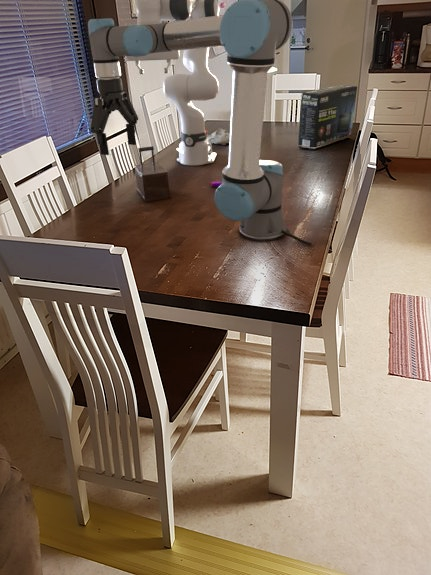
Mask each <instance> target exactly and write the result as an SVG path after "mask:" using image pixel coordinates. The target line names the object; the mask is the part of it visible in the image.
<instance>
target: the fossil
mask: <svg viewBox="0 0 431 575" xmlns="http://www.w3.org/2000/svg"><path fill="white" fill-rule="evenodd" d="M207 140H208V141H209V142H210V143H211V144H213V143H214V145H217V144H218V145H219V144H220V145H222V146H226V145H227V144H229V142H230V130H228V131H227V130H226V129H225V128H222V127H217V128H216V130H215V131H214V132H212V133H211V134H207ZM225 143H227V144H225Z"/></svg>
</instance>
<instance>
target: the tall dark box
mask: <svg viewBox="0 0 431 575" xmlns="http://www.w3.org/2000/svg"><path fill="white" fill-rule="evenodd" d="M154 149H155V148H154V145H152V146H143V147H138V148H137V151H138V153H139V154H138V155H139V162H140V163H139V164H136V165H133V167H134V170H135V169H136V170H137V171H138V173H139V174H140V175H141V176H142V178H143V177H150V176H157V175H164V174H168V175H169V173H168V170H166V169H165V168H164V167H163V165H161V163H160V162H158V161H157V162H156V161H155V153H154ZM142 152H151V160H152V162H149V163H143V156H142Z"/></svg>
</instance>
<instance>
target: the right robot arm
mask: <svg viewBox="0 0 431 575" xmlns="http://www.w3.org/2000/svg"><path fill="white" fill-rule="evenodd" d="M293 21H294V20H293V17H292V13H291V11H290V9H289V7H288V6H287V4H285V3H284V2H283V1H282V0H237V1H234V2H233V3H232V4H231V5H230V6H228V8H227V9H226V10H225V12H224V13H223V14H219V16H212V17H204V18H197V19H189V20H182V21H174V22H173V21H166V22H162V23H159V24H149V25H137V24H132V25H119V26H118V25H115V21H114V19H113V18H111V17H109V18H91V19H89V20H88V22H87V26H88V28H87V29H88V39H89V44H90V49H91V55H92V60H93V68H94V73H95V77H96V78H97V79H96V87H97V92H98V93H99V94H100V98H99V97H94V98H93V99H92V100H93V101H92V102H93V108H92V115H91V116H92V117H91V122H90V129H89V130H90V133H93V134H95V135H96V138H97V139H96V140H97V144H98V145H99V151H100V155H103V156H109V155H110V152H109V145H108V140H107V138H108V137H107V133H105V129H106V126H107V124H108V121H109V117H110V115H111V114H112V112H116V111H118V113H120V115H121V116H122V118H123V119H124V120H125V122H126V124H125V129H126V137H127V143H128V145H132V146H136V145H137V140H136V126H135V125H137V124H138V121H139V116H138V114H137V112H136V110H135V108H134V106H133V103H132V101H131V99H130V93H129V92H128V91H124V87H123V86H124V85H123V79H122V78H121V76H122V70H121V65H120V57H125V56H134V57H138V56H146V55H148V54H150V53H158V52H168V51H177V50H179V51H184V50H189V49H200V48H209V49H210V48H222V47H224V51H225V52H226V64H227V65H228V66H229V67H230V68H231V70H232V78H231V79H232V80H231V99H230V100H231V103H230V122H229V131H230V142H229V143H228V144H229V145H228V164H227V165H226V166H224V167H223V169H222V178H221V182H222V184H221V185H220V186H219V187H216V189H215V192H214V204H215V207H216V208H217V210H218V211H219V212H220V213H221V215H222V216H223V217H224V218H226V219H228V220H229V221H232V222H239V226H238V232H239V235H240V236H241V237H242V238H244V239H247V240H250V241H254V242H271V241H277V240H279V239H281V238H283V237H285V235H286V236H288V237H290V238H292V239H293V240H296V241H297V242H299V243H302V244H304V245H307V246H310V247H311V246H312V245H313V242H310V241H308V240H307V241H306V240H304V239H302V238H299V237H298V236H296V235H294V234H292V233H290V232H288V231H287V223H286V221H285V216H284V214H283V210H282V200H283V183H284V168H283V164H282V163H280V162H278V161H275V160H270V159H261V153H262V152H261V151H262V141H263V127H264V116H265V103H266V92H267V80H268V72H269V71H270V70H271V68H272V67H274V65H275V61H276V60H275V59H276V51H278V50H280V49H281V48H282V47H283V46H285V45H286V43H287V42H288V40H289V39H290V37H291V34H292V31H293V25H294V24H293Z"/></svg>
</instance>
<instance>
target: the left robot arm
mask: <svg viewBox="0 0 431 575" xmlns="http://www.w3.org/2000/svg"><path fill="white" fill-rule="evenodd" d="M134 4H135V11H136V14H137V21H136V25H149V24H159V23H163V22H174V21H182V20H189V19H197V18H204V17H212V16H219V15H220V5H219V1H218V0H134ZM209 51H210V48H200V49H189V50H183V54H182V55H183V56H182V64H183V66H184V68H185V69H187V71H189V72H190V73H175V74H171V75H167V76H165V78H164V80H163V83H162V91H163V95H164V96H165V97H166V98H167V99H168V100H169V101H170V102H171V103H172V104H173V105H174V107H175V108H176V111H177V112H178V115H179V120H180V129H181V130H180V140H181V141H180V143H178V147H177V148H176V151H178V157H177V158H176V161H177V162H179V163H180V164H181V165H184V166H203V165H207V164H213V163H214V162H215V160H216V158H217V156H218V154H217V152H213V145H212V144H213V143H211V142H209V141H208V140H207V135H208V133H209V130H208V129H206V124H205V122H206V121H205V114H204V113H203V112H202V110H201V109H199V108H197V107H195V106H194V104H193V101H201V102H202V101H209V100H214V99H215V98H216V97H217V96H218V94H219V92H220V82H219V80H218V79H217V77H216V76H215V75H214V74H212V73H211V72H210V70H209V67H208V61H209V60H208V59H209V58H208V57H209ZM180 57H181V53H180V50H177V51H168V52H158V53H150V54H148V55H146V56H138V57H134V56H124V58H125V60H126V61H127V62H135V66H136V67H137V69H138V72H139V75H144V74H145V71H144V68H142V67H141V65H140V64H141V62H143V61H145V62H146V61H166V64H167V66H166V67H164V68H163V70H164V74H169V73H170V70H169V68H170V66H171V63H172V60H179V59H180Z"/></svg>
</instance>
